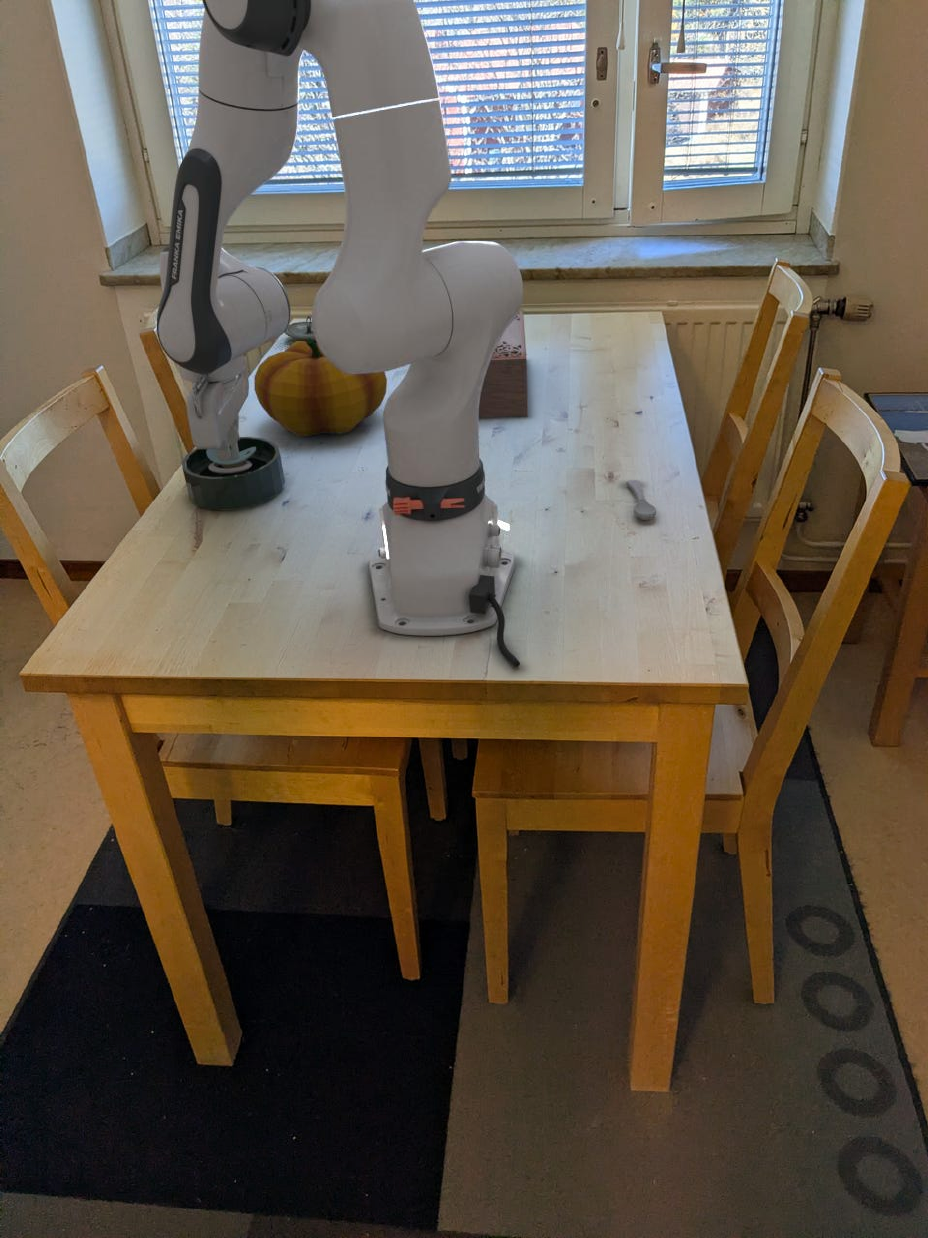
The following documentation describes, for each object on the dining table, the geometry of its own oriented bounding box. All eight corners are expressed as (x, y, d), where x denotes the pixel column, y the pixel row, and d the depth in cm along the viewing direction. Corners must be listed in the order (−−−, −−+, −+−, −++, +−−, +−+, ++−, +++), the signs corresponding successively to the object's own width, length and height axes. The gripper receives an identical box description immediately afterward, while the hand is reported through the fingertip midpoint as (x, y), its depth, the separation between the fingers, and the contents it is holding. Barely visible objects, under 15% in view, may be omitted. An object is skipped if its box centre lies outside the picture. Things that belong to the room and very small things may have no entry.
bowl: (275, 511, 142) (269, 476, 139) (179, 514, 142) (170, 480, 139) (292, 467, 153) (286, 434, 150) (203, 471, 154) (195, 438, 151)
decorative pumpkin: (390, 442, 159) (380, 352, 150) (254, 452, 159) (236, 363, 150) (391, 395, 175) (382, 311, 167) (268, 404, 175) (253, 321, 167)
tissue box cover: (527, 416, 164) (526, 358, 159) (441, 420, 165) (437, 362, 160) (524, 361, 186) (523, 309, 180) (448, 365, 186) (444, 312, 181)
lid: (283, 342, 207) (274, 321, 204) (324, 321, 209) (315, 300, 206) (301, 358, 200) (292, 336, 196) (343, 336, 202) (335, 314, 198)
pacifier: (251, 476, 142) (261, 457, 147) (243, 436, 138) (253, 418, 143) (202, 477, 143) (214, 457, 148) (192, 437, 139) (205, 419, 144)
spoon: (636, 524, 132) (636, 510, 131) (621, 489, 143) (622, 476, 142) (658, 523, 132) (658, 509, 131) (642, 488, 143) (642, 475, 142)
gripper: (215, 387, 128) (235, 482, 136) (248, 334, 145) (264, 422, 152) (168, 389, 128) (190, 484, 136) (206, 336, 145) (224, 423, 153)
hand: (229, 450), depth 144 cm, fingers closed on pacifier, 3 cm apart
